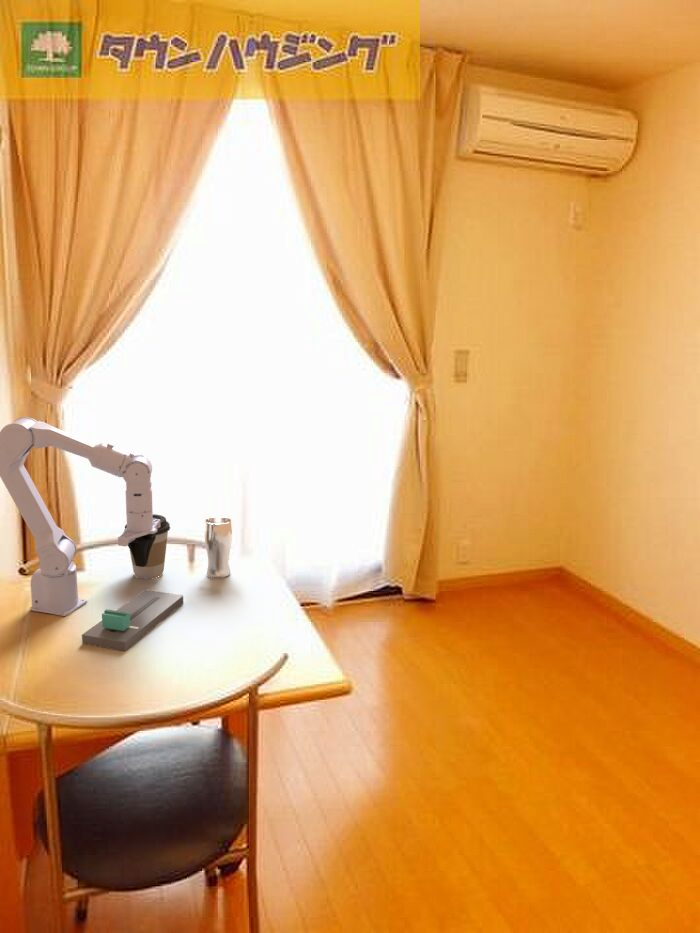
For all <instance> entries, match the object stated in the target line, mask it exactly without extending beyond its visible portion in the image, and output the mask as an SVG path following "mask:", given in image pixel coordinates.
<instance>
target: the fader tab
mask: <svg viewBox="0 0 700 933" xmlns="http://www.w3.org/2000/svg"><path fill="white" fill-rule="evenodd" d="M101 621H102V627H103V628H109V629H115V630H120V631H124V630H126V629H127V628H128V627H129V626H130V613H127V612H121V611H116V610H114V609H105V610H104V612H102V613H101Z"/></svg>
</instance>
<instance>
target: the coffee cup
mask: <svg viewBox="0 0 700 933" xmlns="http://www.w3.org/2000/svg"><path fill="white" fill-rule="evenodd" d="M153 519H160V526H161V527H160V528H156V529H157V532H156V533H154V534H155V535H156V539H155V540H154V542H153V544H152V547H151V549H150V553H149V557H148V562H147V565H146V566H145V567H139V566H136V564H135V561H134V558H133V555H132V552H131V550H130V549H129V554H130V560H131V564H132V570H133V574H134V576H135V578H137V579H140V580H152V578H153V579H157V578H159V577H158V576H160V575H161V574H162V573H163V574H164V570H165V563H166V552H167V546H168V545H167V543H168V533H169V531H170V529H171V526H170V523H169V521H167V518H166V516H163V515H160V514H157V513H153ZM126 528H127V523H126V524H125V525H124V531H125V529H126ZM124 531H123V532H124ZM163 574H162V575H163ZM162 575H161V576H162ZM161 576H160V577H161ZM156 577H157V578H156Z"/></svg>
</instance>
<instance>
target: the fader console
mask: <svg viewBox="0 0 700 933" xmlns="http://www.w3.org/2000/svg"><path fill="white" fill-rule="evenodd" d="M182 605H184V595H183V594H176V593H170V592H163V591H159V590H158V591H157V590H150V589H144V590H143V591H142V592H140V593H138V594H137V595H136V596H135V597H133V598H131V599H130V600H129V601H127V602H126V603H124V604H123V605H122V606H120V607H119V608H117V609H116V610H115V611H121V612H127V613H130V626H129V627H128V628H127V629H126V630H124V631H120V630H115V629H109V628H103V627H102V620H100V621H99V622H98V623H97V624H94V625H93V626H92V627H90V628H89V629H88V630H86V631H85V632H83V633H82V634H81V643H85V644H84V645H88V644H90V645H89V646H94V645H96V646H95V647H99V646H101V647H100V648H105V649H112V650H118V651H122V652H127V650H129V649H130V648H131V647H133V645H135V644H136V643H137V642H138V641H139V640H140V639H141V640H142V638H143V637H144V636H145V635H147V634H148V633H149V632H151V630H153V629H154V628H156V626H158V625H159V624H160V623H161V622H162V621H164V620H166V618H167V617H169V616H170V615H171V614H172V613H173V612H175V611H176V610H177V609H178V608H180V607H181V606H182Z"/></svg>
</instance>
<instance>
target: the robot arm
mask: <svg viewBox="0 0 700 933" xmlns="http://www.w3.org/2000/svg"><path fill="white" fill-rule="evenodd" d="M48 447H53V448H56V449H59V450H61V451H65V452H68V453H71V454H73V455H76V456H79V457H81V458H85V459H87V460H88V462H89V463H90V466H92V467H93V468H95V469H98V470H100V471H103V472H105V473H107V474H111V475H112V476H115V477H118V478H123V480H124V481H125V508H126V509H125V514H126V515H125V516H126V524H127V528H126V529H125V528H124V530H125V531H122V533H121V534H120V536H118V537H117V545H118V546H121V547H128V549H129V551H130V550H131V552H132V555H133V558H134V561H135V564H136V566H139V567H145V566H146V565H147V562H148V557H149V553H150V549H151V547H152V544H153V542H154V540H155V539H156V535H155V534H154V533H156V532H157V529H156V528H160V527H161V526H160V519H153V514H154V513H153V490H152V481H151V477H152V472H153V465H152V462H151V461H150V460H149V459H148V458H147V457H145V456H144V455H142V454H135V453H134V452H132V451H130V453H129V452H126V451H124V450H122V449H120V448H119V449H118V448H116V447H115V444H114V443H112V442H108V443H105V442H102V443H99V444H92V443H90V442H88V441H86V440H83V439H81V438H79V437H77V436H75V435H72V434H71V433H69V432H66V431H64V430H61V429H59V428H58V427H55V426H52V425H51V424H49V423H47V422H45V421H42V420H38V421H37V420H36V419H34V418H32V417H28V416H22V417H19V418H17V419H15V420H14V421H13V422H11V423H9V424H5V425H4V427H2V429H1V430H0V479H1V481H2V482H3V484H4V487H5V488H6V489H7V492H8V494H9V496H10V497H11V499H12V500H13V503H14V504H15V506H16V508H17V509H18V511H19V513H20V514H21V516H22V518H23V519H22V520H24V522H25V524H26V526H27V528H28V529H29V531H30V533H31V535H32V537H33V538H34V546H35V547H34V548H35V552H36V555H37V556H38V566H39V568H37V569H36V570H35V571H34V573H32V575H31V580H30V593H31V595H30V596H31V605H32V606H31V607H29V611H31V612H32V611H33V612H38V613H45V614H51V615H56V616H61V617H62V616H63V617H65V616H67V615H69V614H71V613H73V611H75V610H77V609H78V608H80V607H82V606H83V605H86V603H87V600H86V599H82V598H79V594H78V592H79V591H78V574H77V566H76V563H74V561H73V559H74V558H75V556H76V555H77V551H78V548H77V544H76V543H75V541H74V540H72V539H71V537H69V536H67V535H66V533H65V532H64V531H65V530H63V529H62V528H60V527H59V526H58V525H57V524H56V521H55V520H54V519H53V516H52V515H51V512H50V511H49V509H48V506H47V505H46V503H45V502H44V500H43V497H42V496H41V494H40V493H39V491H38V488H37V486H36V485H35V484H34V481H33V479H32V478H31V476H30V474H29V472H28V470H27V469H26V467H25V465H24V464H25V462H26V460H27V458H28V456H29V452H30V450H32V448H33V449H34V450H37V449H42V448H48Z"/></svg>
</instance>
